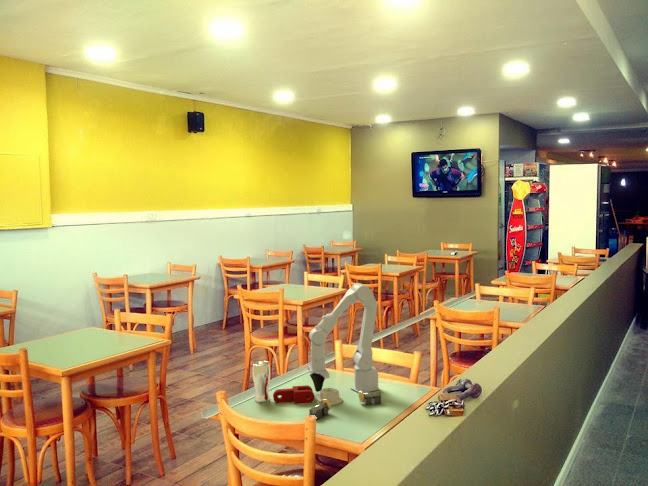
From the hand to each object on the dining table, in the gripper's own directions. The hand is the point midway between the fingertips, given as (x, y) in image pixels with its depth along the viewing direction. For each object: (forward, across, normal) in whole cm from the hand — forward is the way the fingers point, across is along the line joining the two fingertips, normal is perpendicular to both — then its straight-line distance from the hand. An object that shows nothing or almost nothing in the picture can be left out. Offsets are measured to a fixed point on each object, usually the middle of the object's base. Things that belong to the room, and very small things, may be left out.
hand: (318, 391), depth 239 cm
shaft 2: (+1, +20, +11) cm, 23 cm away
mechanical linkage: (+2, +1, -12) cm, 12 cm away
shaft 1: (+1, +20, -11) cm, 23 cm away
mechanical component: (+2, +9, 0) cm, 9 cm away
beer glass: (+2, -7, -22) cm, 23 cm away
